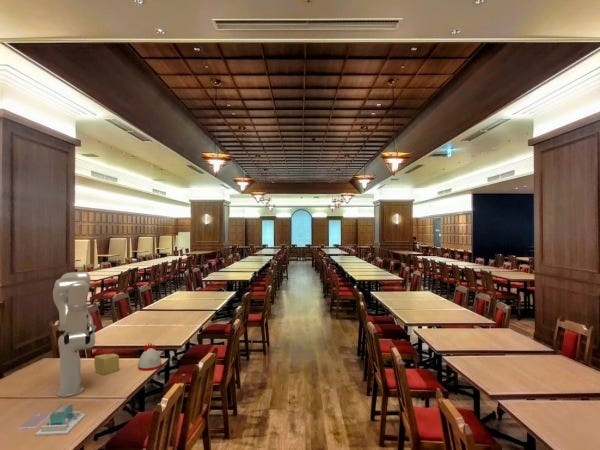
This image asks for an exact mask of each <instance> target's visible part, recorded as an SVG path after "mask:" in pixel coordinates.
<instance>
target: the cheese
mask: <svg viewBox="0 0 600 450" xmlns="http://www.w3.org/2000/svg"><path fill="white" fill-rule="evenodd" d="M94 370H95V373H97V374H99V375H102V376H106V375H107V376H108V375H110V374H113V373H117V372H119V371H120V357H119V355H118V354H116V353H104V354H99V355H95V356H94Z"/></svg>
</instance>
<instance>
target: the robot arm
mask: <svg viewBox="0 0 600 450" xmlns="http://www.w3.org/2000/svg"><path fill="white" fill-rule="evenodd" d="M53 286H54V287H53V290H52V299H53V302H54V305H55V306H56V308H57V310H58V315H59V326H57V329H58V331H59V333H60V334H61V335H60V336H59V337H58V340H57V342H58V343H57V344H58V350H59V368H60V369H59V379H60V380H59V381H60V382H59V385H60V386H59V390H58V391H57V392H56V396H58V397H61V398H62V397H63V398H64V397H65V398H66V397H73V396H76V395H79V394H81V393H83V392H84V389H85V388H84V386H82V385H81V384H82V382H83V379H82V378H81V377H82V376H81V372H82V371H81V369H82V368H81V360H82V359H81V356H80V355H79V354H78V353H77V352H76V351H79V350H87V349H91V348H93V347H94V346H95V344H96V333H95V330H96V328H97V325H96V324H95V325H94V319H93V316H92V314H90V313H89V310H88V309H90V306H89V305H87V296H88V295H89V291H90V287H91V276H90V274H89V273H88V272H87V271H77V272H76V271H75V272H74V271H73V272H66V273H64V274H63V275H62V276H60V278H59V279H57V280H55V283H54V285H53Z"/></svg>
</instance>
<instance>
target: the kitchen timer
mask: <svg viewBox="0 0 600 450" xmlns="http://www.w3.org/2000/svg"><path fill="white" fill-rule="evenodd" d="M142 348H143V350H144V351H143V352H142V354H141V355H140V357H139V360H138V363H137V367H138V368H137V369H138V370H139V371H143V372H144V371H145V372H150V371H155V370H158V369H160V368H162V359H161V356H160V354H159V352H158V351H157V350H156V349H157V345H155V344H152V343H147V344H145V345H144V346H143V347H142Z"/></svg>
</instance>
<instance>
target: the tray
mask: <svg viewBox="0 0 600 450" xmlns="http://www.w3.org/2000/svg"><path fill="white" fill-rule="evenodd" d="M81 412H82V411H81V410H79V411H78V410H77V409H76V410H73V418H72V419H71V420H70V421H69V422H68V418H66V419H65V425H50V418H47V419H45V425H41V426H40V429H39V430H38V431H37V432H36V433H34V436H35V437H43V436H59V435H60V436H61V435H63V436H64V435H68V434H69V433H70V432H71V431H72V430H73V429H74V428H75V427H76V426H77V425H78V424H79V423H80V422H81V421H82V420H83V419H84V418H85V417H86V415H87V413H81Z"/></svg>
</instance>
